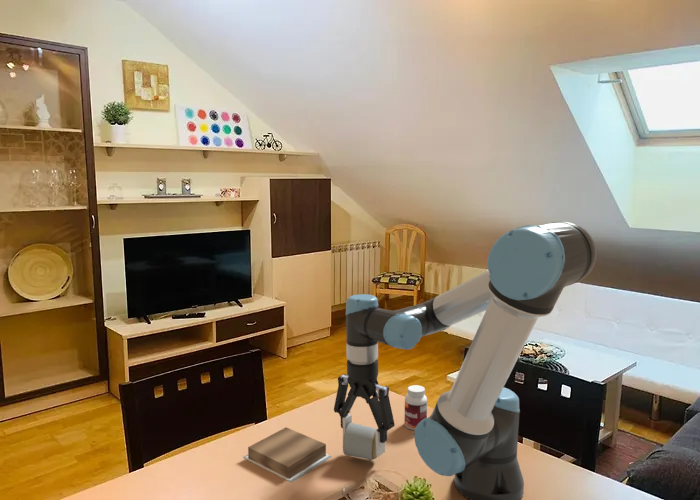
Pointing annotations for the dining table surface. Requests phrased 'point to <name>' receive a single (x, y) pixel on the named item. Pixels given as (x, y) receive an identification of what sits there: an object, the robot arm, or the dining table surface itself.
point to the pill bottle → (415, 406)
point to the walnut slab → (287, 452)
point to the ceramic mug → (360, 441)
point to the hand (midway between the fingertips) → (363, 447)
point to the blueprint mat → (297, 473)
